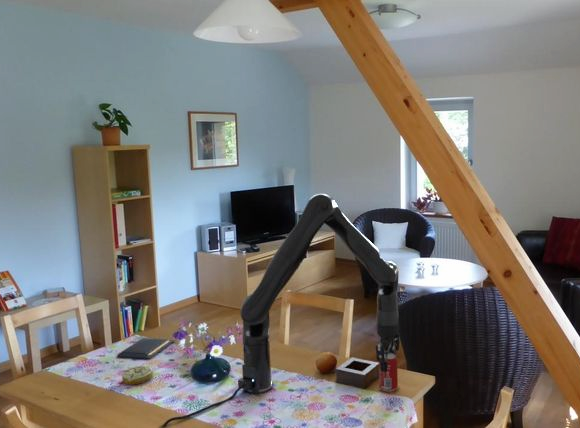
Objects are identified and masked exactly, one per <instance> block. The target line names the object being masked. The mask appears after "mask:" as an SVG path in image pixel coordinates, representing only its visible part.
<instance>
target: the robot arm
mask: <svg viewBox="0 0 580 428" xmlns="http://www.w3.org/2000/svg"><path fill="white" fill-rule="evenodd" d="M324 225H326V226H327V227H328V228H330V229H331V230H332V231H333V232H334V233H335V234H336V235H337V237H338V238H339V239H340V241H342V243H343V244H344V245H345V246H346V248H347V249H348V250H349V252H351V254H352V255H353V256H354V257H355V258H356V259H357V260H358V261H359V262H360V263H361V264H362V265H363V266H364V267H365V269H366V270H367V271H368V273H369V274H370V276H371V278H373V280H374V281H375V282H376V283H377V284H378V292H377V296H376V334H377V336H378V337H380V341H379V344H375V356H376V357H375V358H376V362H379V361H380V370H381V371H382V372H386V371H387V357H388V355H389V354H390V353H393V354H395V357H396V358H397V352H398V351H399V349H400V333H399V332H400V319H399V316H400V315H399V297H398V288H399V279H400V278H399V275H400V274H399V268H398V266H397V265H396V264H395V263H394V262H392V261H385V260H384V258H383V257H382V256H381V253H380V250H379V249H378V248H377V247H376V246H375V245H374V244H373V243H372V242H371V241H370V240H369V239H368V238H367V237H366V236H365V235H364V234H362V233H361V231H359V229H358V228H356V227H355V226H354V224H353V223H351V221H350V220H349V219H348V218H347V217H346V216H345V214H344V213H343V212H342V211H341V209H340V207H338V205H337V203H336V202H335V200H334V198H333V197H331V196H330V195H329V194H326V193H317V194H315V195H313V196H311V197H310V198H309V200H308V201H307V203H306V205H305V207H304V209H303V211H302V213H301V215H300V217H299V219H298V221H297V222H296V224H295V226H294V227H293V228H292V230H291V231H290V232H289V233H288V234H287V236H286V237H285V238H284V240H283V241H282V243H281V244H280V246H279V247H278V249H277V250H276V251H275V253H274V255H273V256H272V258H271V260H270V261H269V263H268V265H267V267H266V269H265V272H264V273H263V276H262V278H261V281H260V282H259V284H258V285H257V287H256V289H254V291H253V293H251V294H249V295H247V296H246V297H245V298H244V299H243V301H242V304H241V307H240V310H239V311H240V313H239V314H240V318H241V320H242V351H243V364H242V365H241V368H242V370H241V371H242V377H241V378H238V380H237V389H236V390H235V391H234V392H233V394H232V395H231V396H229V397H228V398H226V399H224V400H221V401H217V402H215V403H212V404H209V405H208V406H205V407H202V408H200V409H197V410H195V411H193V412H191V413H188V414H185V415H181V416H174V417H170V418H169V419H167V420H166V421H165V422H163V424H162V425H161V426H162V428H166V426H167V425H168V424H169V423H172V422H173V421H178V420H185V419H189V418H190V417H193V416H196V415H198V414H200V413H202V412H205V411H207V410H209V409H211V408H214V407H217V406H220V405H222V404H225V403H226V402H228V401H231V400H233V399H234V398H235V397H236V396H237V394H238V393H239V392H240V391H241V390H243V391H244V392H247V393H251V394H253V395H259V394H261V393H265V392H268V391H269V390H271V389H272V388H273V382H272V364H271V363H272V362H271V361H272V360H271V340H270V339H271V338H270V336H271V334H270V333H271V331H270V330H271V329H270V328H271V326H270V324H271V323H270V310H271V308H272V307H273V305H274V304H275V303H274V302H275V301H276V299H277V297H278V296H279V294H280V293H281V292H282V291H283V289H284V288H285V287H286V286H287V284H288V283H289V281H290V280H291V279H292V277H293V276H294V275H295V273H296V272H297V271H298V270H299V267H300V266H301V264H302V263H303V260H304V259H305V258H306V256H307V254H308V251H309V249H310V247H311V244H312V242H313V240H314V238H315V236H316V235H317V234H318V232H319V231H320V230H321V228H322V227H323V226H324ZM384 354H385V357H384Z"/></svg>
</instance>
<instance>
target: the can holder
mask: <svg viewBox="0 0 580 428" xmlns="http://www.w3.org/2000/svg"><path fill="white" fill-rule="evenodd" d="M377 379H379V362H378V361H372V360H367V359H363V358H357V357H350V358H349V359H347V360H346V361H344V362H343V363H342V364H341V365H339V366H337V367H336V368H335V383H338V384H343V385H347V386H352V387H356V388H360V389H364V390H365V389H367V388H368V387H369V386H370V385H371V384H372V383H373V382H375V381H376V380H377Z"/></svg>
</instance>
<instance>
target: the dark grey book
mask: <svg viewBox="0 0 580 428" xmlns="http://www.w3.org/2000/svg"><path fill="white" fill-rule="evenodd" d="M172 343H174V340H173V339H168V338H156V337H142V338H141V339H139V340H137V341H136V342H135V343H133V344H132V345H130V346H128V347H127V348H125V349H123V350H122V351H121V352H119V353H118V354H117V358H120V359H121V358H122V359H138V360H150V359H152V358H153V357H155V356H156V355H158V354H159V353H160V352H162V351H163V350H164V349H165V348H167V347H168V346H170V345H171V344H172Z"/></svg>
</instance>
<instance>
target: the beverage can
mask: <svg viewBox="0 0 580 428" xmlns="http://www.w3.org/2000/svg"><path fill="white" fill-rule="evenodd" d="M384 357H385V354H384ZM378 363H379V377H378V380H379V381H378V382H379V383H378V385H379V388H380V389H381V390H382V391H384V392H388V393H389V392H393V391H395V390H396V389H397V388H398V385H399V384H398V381H399V379H398V376H399V375H398V358H397V356H396V357H395V354H393V353H390V354H389V355H388V357H387V371H386V372H382V371H381V370H380V361H378Z"/></svg>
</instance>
